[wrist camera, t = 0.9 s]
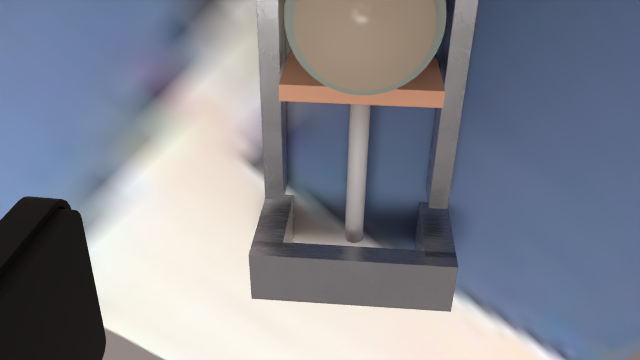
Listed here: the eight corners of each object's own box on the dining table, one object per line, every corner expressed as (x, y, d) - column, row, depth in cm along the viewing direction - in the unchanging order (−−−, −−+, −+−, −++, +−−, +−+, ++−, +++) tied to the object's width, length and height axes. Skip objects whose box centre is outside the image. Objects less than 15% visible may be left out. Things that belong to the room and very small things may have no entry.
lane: (252, -128, 26) (223, -114, 21) (495, -123, 26) (522, -109, 21) (268, 234, 37) (251, 298, 32) (440, 244, 36) (450, 311, 31)
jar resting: (298, -89, 27) (280, -66, 22) (442, -86, 27) (458, -61, 21) (299, 49, 30) (283, 97, 25) (427, 54, 30) (437, 104, 25)
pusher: (290, 52, 30) (278, 84, 27) (437, 58, 30) (445, 91, 26) (292, 211, 35) (283, 255, 32) (418, 218, 35) (422, 264, 31)
